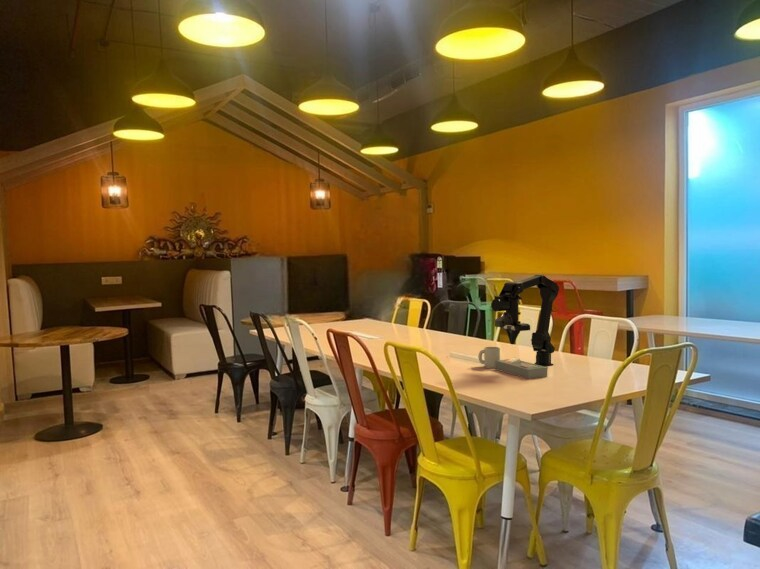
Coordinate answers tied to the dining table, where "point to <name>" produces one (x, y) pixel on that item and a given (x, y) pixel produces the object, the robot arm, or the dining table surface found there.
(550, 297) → the robot arm
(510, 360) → the rocker
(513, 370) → the grey rocker switch panel
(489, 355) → the cup
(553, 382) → the dining table surface
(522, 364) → the rocker
